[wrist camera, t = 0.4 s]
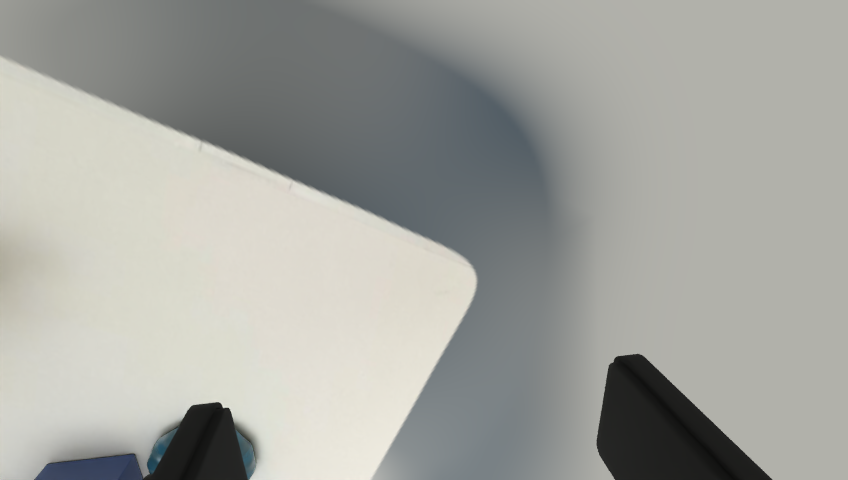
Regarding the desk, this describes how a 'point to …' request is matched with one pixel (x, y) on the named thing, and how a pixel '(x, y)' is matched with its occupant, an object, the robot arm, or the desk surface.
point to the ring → (166, 439)
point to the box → (94, 469)
